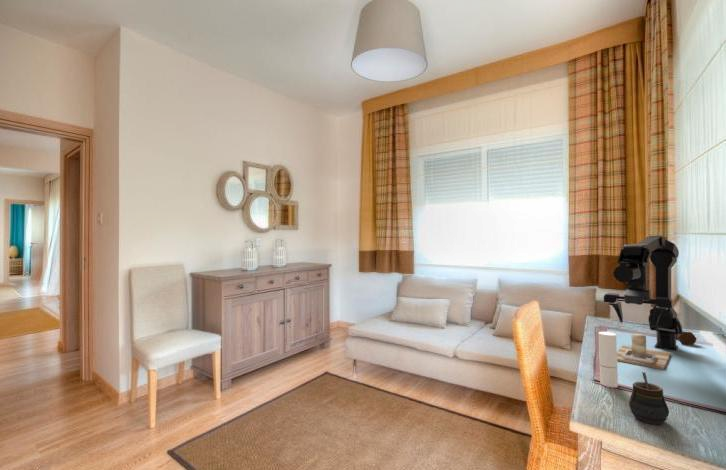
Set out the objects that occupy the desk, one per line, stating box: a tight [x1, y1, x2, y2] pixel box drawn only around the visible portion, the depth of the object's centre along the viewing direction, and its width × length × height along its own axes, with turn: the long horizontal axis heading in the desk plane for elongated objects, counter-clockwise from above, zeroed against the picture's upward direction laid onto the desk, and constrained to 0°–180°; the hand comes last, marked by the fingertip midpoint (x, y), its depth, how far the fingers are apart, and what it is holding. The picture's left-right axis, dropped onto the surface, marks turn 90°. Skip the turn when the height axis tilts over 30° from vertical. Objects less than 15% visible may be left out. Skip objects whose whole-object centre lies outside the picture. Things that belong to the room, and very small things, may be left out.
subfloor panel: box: [617, 344, 672, 371], centre depth 124 cm, size 20×14×1 cm
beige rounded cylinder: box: [631, 333, 647, 359], centre depth 121 cm, size 4×4×8 cm
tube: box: [598, 331, 619, 388], centre depth 102 cm, size 4×4×15 cm
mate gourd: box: [628, 371, 670, 425], centre depth 83 cm, size 7×8×10 cm
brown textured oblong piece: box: [674, 329, 697, 346], centre depth 144 cm, size 6×5×15 cm
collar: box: [622, 350, 656, 364], centre depth 121 cm, size 8×8×1 cm
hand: (637, 324), depth 121 cm, fingers open, 9 cm apart
